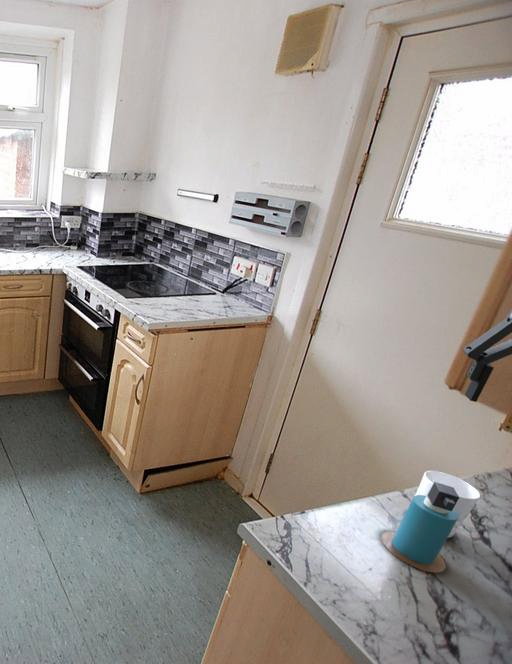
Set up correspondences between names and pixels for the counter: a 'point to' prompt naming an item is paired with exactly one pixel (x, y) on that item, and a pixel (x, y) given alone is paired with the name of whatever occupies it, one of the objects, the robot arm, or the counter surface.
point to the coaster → (433, 568)
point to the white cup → (462, 488)
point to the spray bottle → (427, 524)
